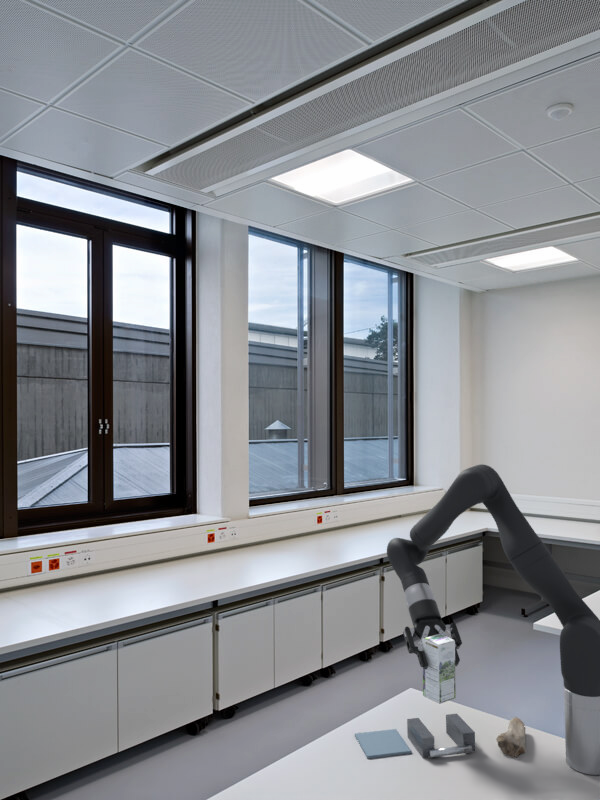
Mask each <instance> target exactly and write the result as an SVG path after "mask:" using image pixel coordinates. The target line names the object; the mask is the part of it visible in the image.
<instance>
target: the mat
mask: <svg viewBox="0 0 600 800" xmlns="http://www.w3.org/2000/svg"><path fill="white" fill-rule="evenodd" d="M354 737H356V738H355V740H356V741H357V740H358V741H357V742H359V743H358V744H360V745H359V746H360V749H361V750H362V752H363V753H364V755H365V757H366V758H367V759H369V760H370V759H375V758H377V759H378V758H384V757H385V758H386V757H393V756H399V755H400V756H401V755H408V754H409V755H410V754H412V749H411V748H410V746H409V745H408V744H407V743H406V741H405V740H404V738H403V737H402V735H401V734H400V733H399V731H398V730H397V728H394V729H393V728H392V729H385V730H384V729H383V730H374V731H366V732H358V733H357V732H355V733H354Z"/></svg>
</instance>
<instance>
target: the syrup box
mask: <svg viewBox="0 0 600 800" xmlns="http://www.w3.org/2000/svg"><path fill="white" fill-rule="evenodd" d="M449 637H450V636H449ZM449 637H447V636H444V635H441V634H437V635H433V636H430V637H426V638H423V651H424V652H425V656H426V659H427V662H428V668H427V669H425V670H424V669H423V668H422V696H423V697H424V698H427V699H429V700H431V701H432V702H434V703H436V704H443V703H445V702H449V701H452V700H454V699H456V695H457V694H456V693H457V692H456V666H455V641H454V640H453V639H452V637H450V638H449Z"/></svg>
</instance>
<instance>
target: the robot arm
mask: <svg viewBox="0 0 600 800" xmlns="http://www.w3.org/2000/svg"><path fill="white" fill-rule="evenodd" d="M478 504H480V505H481V504H483V505H484V507H485V508H486V510H487V511H488V512H489V513H490V515H491V517H492V518H493V520H494V522H495V525H496V527H497V530H498V531H497V532H498V535H499V539H500V542H501V546H502V549H503V552H504V554H505V556H506V558H507V559H508V561H509V563H510V564H511V565H512V567H513V569H514V570H515V571H516V573H517V574H518V576H519V577H520V578H521V579H522V581H523V582H525V583H526V585H527V586H529V588H530V589H531V590H533V591H534V592H535V593H537V594H538V596H539V597H541V598H542V599H543V600H544V601H545V602H546V603H547V604H548V606H550V608H551V609H552V611H553V612H554V613H555V616H556V617H557V619H558V620H559V622H560V624H561V625H562V629H561V632H560V635H559V655H560V656H559V657H560V672H561V676H562V679H563V702H564V703H563V707H564V709H563V710H564V739H565V740H564V742H565V761H566V764H567V765H568V766H569V767H570V768H571V769H573V770H575V771H576V772H580V773H582V774H587V775H590V776H591V775H593V776H598V775H599V776H600V618H599V617H598V616H597V614H595V613H594V611H593V610H592V609H591V608H590V607H589V606H588V605H587V603H586V602H585V601H584V600H583V599H582V597H581V596H580V595H579V593H577V591H576V590H575V588H574V587H573V586H572V583H570V581H569V579H568V577H567V576H566V574H565V572H564V571H563V570H562V568H561V566H560V565H559V564H558V562H557V561H556V559H555V558H554V556H553V555H552V554H551V552H550V550H549V549H548V547H547V546H546V545H545V543H544V542H543V541H542V539H541V538H540V537H539V535H538V534H537V532H536V531H535V530H534V528H533V527H532V525H531V524H530V523H529V521H528V520H527V519H526V517H525V516H524V515H525V514H523V513H522V511H521V510H520V508H519V507H518V506H517V504H516V502H515V500H514V499H513V497H512V495H511V494H510V491H509V490H508V489H507V486H506V485H505V483H504V481H503V480H502V478H501V476H500V475H499V473H498V472H497V471H496V470H495V468H493V467H491V466H490V465H487V464H483V463H482V464H476V465H474V466H471V467H467V468H465V469H464V470H462V471H461V472H460V473H458V475H457V476H456V477H455V479H454V480H453V482H452V484H451V485H450V486H449V487H448V489H447V490H446V492H445V494H444V495H443V496H442V497H441V498H440V500H439V501H438V502H437V503H436V504H435V505H434V506H433V507H432V508H431V509H430V510H429V511H428V512H427V513H426V514H425V515H424V516H422V518H421V519H419V520H418V521H417V522H416V524H414V525H413V526H412V528H411V529H410V530H409V538H410V539H405V538H400V537H394V538H392V539H391V540H390V541H389V542H388V544H387V546H386V556H387V559H388V562H389V564H390V566H391V567H392V569H393V571H394V572H395V574H396V575H397V577H398V578H399V580H400V582H401V585H402V588H403V592H404V597H405V602H406V607H407V609H408V613H409V616H410V619H411V620H410V621H411V623H412V625H413V627H409V626H405V628H404V630H403V631H402V634H403V638H404V640H405V646H406V647H407V651H408V652H407V653H409V654H415V655H416V657H417V660H418V664H419V666H420V667H421V668H422V670H423V669H424V670H425V669H427V668H428V662H427V659H426V656H425V652H424V651H423V638H426V637H430V636H433V635H437V634H441V635H444V636H447V637H449V638H451V639H453V640H454V641H455V667H458V666H459V663H460V662H461V661H460V660H461V659H460V656H459V652H458V650H459V649H460V648H461V646H462V644H463V641H462V638H461V635H460V632H459V630H458V626H457V624H456V623H455V622H451V623H450V624H445V623H444V621H443V620H442V616H441V613H440V609H439V608H438V604H437V601H436V597H435V595H434V593H433V590H432V588H431V585H430V583H429V579H428V577H427V574H426V571H425V570H424V569H423V568H422V567H420V566H419V565H420V564H421V563H423V561H424V560H425V558H426V557H427V555H428V553H429V551H430V550H431V547H432V546H433V545H434V544H435V543H436V542H438V541H439V539H441V538H442V537H443V536H444V535H445V534H446V532H447V531H449V529H450V527H451V526H452V525H453V523H454V521H455V520H456V519H457V518H458V517H460V515H462V514H463V513H465V512H466V511H467V510H469V509H471V508H472V507H474V506H476V505H478ZM446 631H447V632H448V634H449V635H450V636H451V637H450V636H449V635H448V634H447V633H446ZM414 635H415V636H416V637H418V639H419V641H418V644H417V645H416V644H415V641H414V638H413V636H414Z"/></svg>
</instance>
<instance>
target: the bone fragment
mask: <svg viewBox="0 0 600 800" xmlns="http://www.w3.org/2000/svg"><path fill="white" fill-rule="evenodd" d="M524 726H525V722H524V721H523V720H522V719H521V718H519V717H518V716H514V717H513V718H511V720H509V721H508V728H507V730H508V731H505V732H503V733H500V734H499V735H498V736H497V737H496V738H495V740H496V742H497V746H498V748H499V749H500V751H501V752H502V755H504V756H509V757H512V758H517V757H519V754H520V755H521V754H525V752H526V726H525V727H524Z"/></svg>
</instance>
